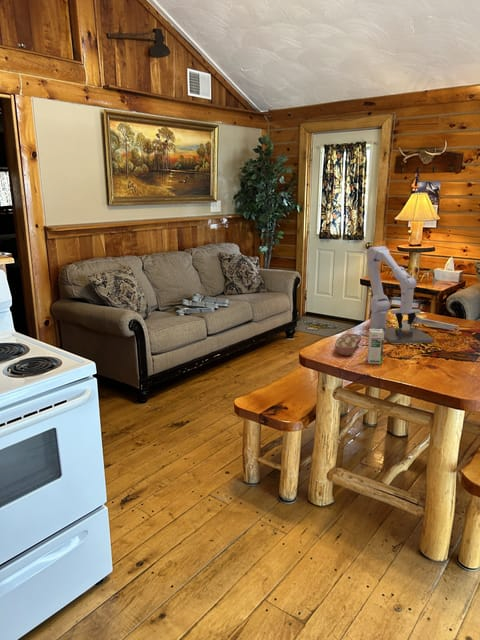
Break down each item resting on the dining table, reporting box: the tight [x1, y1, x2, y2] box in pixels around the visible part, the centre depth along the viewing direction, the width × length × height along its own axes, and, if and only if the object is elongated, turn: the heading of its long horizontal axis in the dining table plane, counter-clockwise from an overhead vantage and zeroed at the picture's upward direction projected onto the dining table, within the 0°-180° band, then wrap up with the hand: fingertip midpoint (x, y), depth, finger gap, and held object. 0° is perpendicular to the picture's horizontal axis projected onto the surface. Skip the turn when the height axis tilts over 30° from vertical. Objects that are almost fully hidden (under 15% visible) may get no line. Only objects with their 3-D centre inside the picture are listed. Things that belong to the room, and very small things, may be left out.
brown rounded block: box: [334, 333, 363, 357], centre depth 228 cm, size 23×10×5 cm, turn 155°
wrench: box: [402, 314, 460, 332], centre depth 264 cm, size 8×2×30 cm
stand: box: [376, 326, 435, 344], centre depth 248 cm, size 22×22×4 cm
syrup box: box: [366, 328, 385, 365], centre depth 211 cm, size 6×6×14 cm
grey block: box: [398, 321, 410, 331], centre depth 248 cm, size 4×4×5 cm
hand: (404, 327), depth 248 cm, fingers closed on grey block, 4 cm apart
